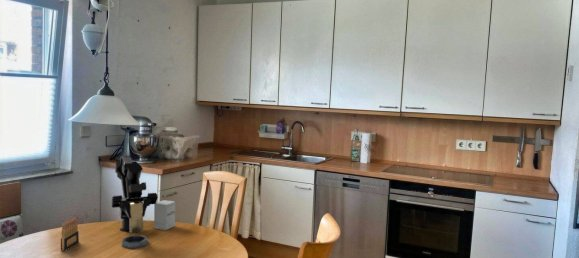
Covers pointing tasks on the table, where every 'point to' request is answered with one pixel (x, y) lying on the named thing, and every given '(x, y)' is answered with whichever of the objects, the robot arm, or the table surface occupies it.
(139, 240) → the ring collar
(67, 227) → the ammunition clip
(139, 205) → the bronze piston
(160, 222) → the supplement box
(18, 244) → the table surface
